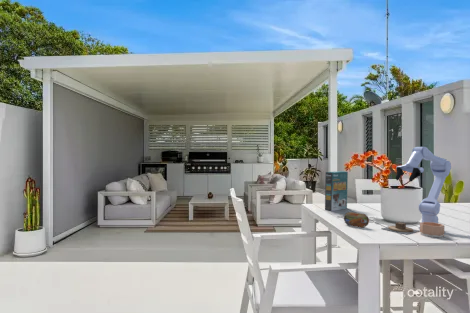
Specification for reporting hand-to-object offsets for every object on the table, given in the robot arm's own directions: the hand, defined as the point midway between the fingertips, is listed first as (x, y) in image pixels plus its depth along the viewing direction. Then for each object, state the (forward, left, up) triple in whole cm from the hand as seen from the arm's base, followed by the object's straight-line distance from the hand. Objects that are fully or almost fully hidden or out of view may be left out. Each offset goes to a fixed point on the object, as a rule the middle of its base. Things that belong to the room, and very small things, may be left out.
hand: (403, 179), depth 180 cm
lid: (-10, -6, -30) cm, 32 cm away
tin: (+4, -26, -31) cm, 41 cm away
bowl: (-15, +9, -31) cm, 35 cm away
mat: (-10, -6, -31) cm, 33 cm away
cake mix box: (-36, -74, -31) cm, 88 cm away
